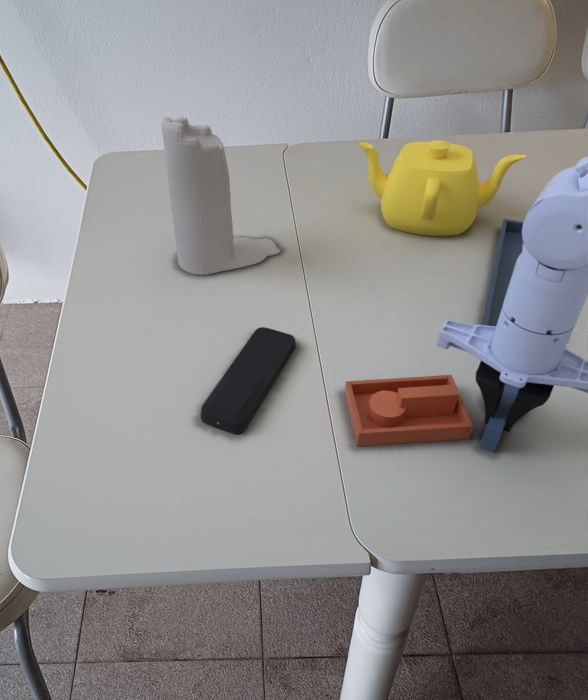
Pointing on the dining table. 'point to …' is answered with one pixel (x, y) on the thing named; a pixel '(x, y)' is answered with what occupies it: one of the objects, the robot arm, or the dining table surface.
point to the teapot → (433, 187)
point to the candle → (204, 202)
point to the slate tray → (503, 268)
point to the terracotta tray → (410, 427)
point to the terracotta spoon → (411, 404)
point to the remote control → (248, 380)
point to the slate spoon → (498, 419)
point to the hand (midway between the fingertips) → (499, 421)
